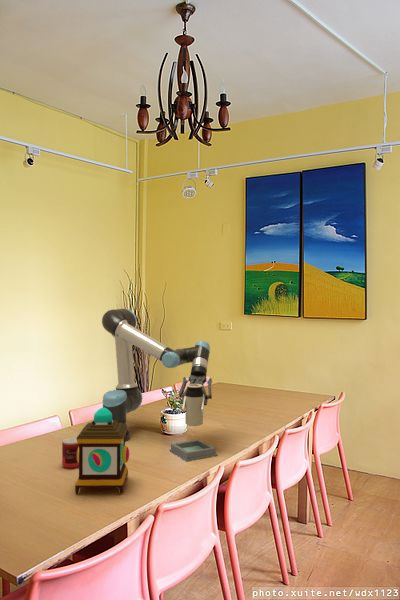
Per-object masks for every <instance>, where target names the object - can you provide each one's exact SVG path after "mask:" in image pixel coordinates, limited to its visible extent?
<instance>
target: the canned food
mask: <svg viewBox="0 0 400 600" xmlns="http://www.w3.org/2000/svg"><path fill="white" fill-rule="evenodd" d="M76 438H77V437H67V438H64V439H63V440H62V443H61V444H62V448H61V453H62V454H61V455H62V456H61V457H62V459H61V460H62V461H61V464H62V468H64V469H67V470H75V469H79V463H78V462H77V460H76V452H77V449H78V447H79V444H78V442H77V440H76Z"/></svg>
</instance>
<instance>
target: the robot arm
mask: <svg viewBox="0 0 400 600" xmlns="http://www.w3.org/2000/svg"><path fill="white" fill-rule="evenodd" d="M137 321H138V320H137V316H136V314H135V313H134V312H133V310H130V309H127V308H117V309H115V308H114V309H109V310H108V311H106V312H104V313H103V315H102V318H101V325H102V327H103V329H104V330H105V331H106V332H108V333H109V334H111V336H112V337H113V338H114V343H115V356H116V368H117V369H116V370H117V381H118V382H117V385H116V386H115V389H113V390H108V391H106V392H105V393H104V394H103V397H102V408H106V409H108V410H109V411H110V412H111V413H112V418H113V419H114V420H116V422H118V423H123V424H125V425H126V426H127V427H128V425H127V414H130V412H134V411H135V410H137V409H138V408H140V406H141V404H142V402H143V393H142V391H140V389H139V385H138V383H136V382H135V369H134V366H135V365H134V354H133V346H134V347H136V348H139V349H140V350H142V351H144V352H145V353H147V354H148V355H150V356H152V357H154V358H156V359H158V360H159V361H161V363H162V365H163V366H164V367H166V368H167V369H173V368H176V367H178V366H181V365H185V364H190V363H192V364H191V369H190V370H191V371H190V375H189V377H185V376H184V377H182V381H183V382H182V383H181V387H180V388H179V392H178V397H179V398H181V405H182V411H183V412H185V413H186V391H187V386H186V385H187V384H188V382H189V384H201V385H203V386H202V391H203V400H202V407H201V410H202V412H203V414H204V412H205V406H207V405H208V400H212V398H213V395H212V394H213V393H212V384H213V380H212V377H210V378H207V372H208V367H209V358H210V354H211V353H210V351H211V346H210V344H209V342H207V341H205V340H199V341H197V342H196V343H195V345H194V346H191V347H186V348H185V347H184V348H177V349H173V348H171V347H169V346H167V345H166V344H164V343H163V342H160V341H159V340H157V339H156V338H154V337H151V336H150V335H149V334H147V333H145V332H143V331H141V330H140V329H138V328H136V326H137ZM205 383H207V384H206V385H207V387H208V392H207V391H206V389H205V386H204V384H205ZM207 393H208V394H207ZM130 439H131V434H130V431H129V427H128V428H127V431H126V433H125V442H126V441H128V440H130Z"/></svg>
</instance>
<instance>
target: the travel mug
mask: <svg viewBox="0 0 400 600" xmlns="http://www.w3.org/2000/svg"><path fill="white" fill-rule="evenodd" d="M203 385H204V384H203ZM203 385H201V384H190V383H186V389H187V391H186V407H185V425H187V426H188V427H200V426H201V425H203V424H204V413H203V412H202V410H201V407H202V400H203V397H204V394H203V391H202V386H203Z"/></svg>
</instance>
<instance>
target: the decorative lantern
mask: <svg viewBox="0 0 400 600" xmlns="http://www.w3.org/2000/svg"><path fill="white" fill-rule="evenodd" d="M127 428H128V429H129V427H128V425H127V426H126V425H125V424H123V423H118V422H116V420H114V419H113V418H112V413H111V412H110V411H109V410H108V409H106V408H103V407H100V408H99V409H98V410H96V411H95V413H94V415H93V421H91V422H88V423H87V424H85V426H84V427H83V428H82V429H81V431H80V432H79V434H78V435H77V437H75V438H76V440H77V442H78V444H79V447H78V449H77V452H76V460H77V462H78V463H79V467H78V478H77V480H76V483H75V485H74V487H75V488H74V492H75V494H76V495H79V494H80V491H81V488H117V489H118V493H119V495H122V494H123V492H124V485H125V481H126V479H127V478H128V475H129V470H128V466H127V464H126V463H128V462H129V459H130V449H129V447H128V446H127V445H126V441H125V433H126V431H127Z"/></svg>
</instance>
